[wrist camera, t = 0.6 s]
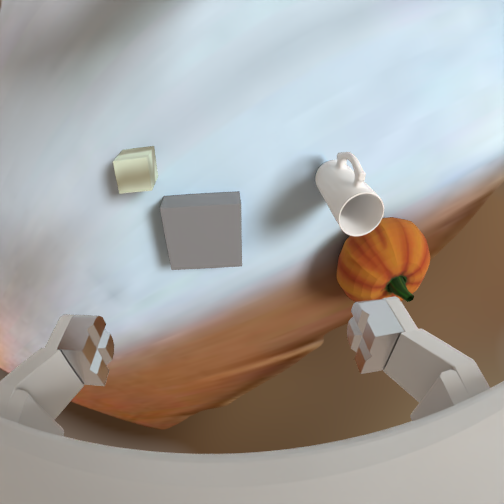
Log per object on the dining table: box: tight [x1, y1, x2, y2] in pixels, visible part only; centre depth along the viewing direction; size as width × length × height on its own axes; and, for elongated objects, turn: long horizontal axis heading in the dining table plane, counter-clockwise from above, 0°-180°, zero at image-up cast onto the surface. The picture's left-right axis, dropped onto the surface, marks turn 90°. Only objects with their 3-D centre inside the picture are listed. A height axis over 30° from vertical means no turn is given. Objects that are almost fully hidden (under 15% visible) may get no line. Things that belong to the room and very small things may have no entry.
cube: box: [113, 146, 158, 194], centre depth 39 cm, size 5×5×5 cm
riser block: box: [160, 192, 242, 270], centre depth 48 cm, size 12×12×4 cm
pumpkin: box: [336, 217, 430, 302], centre depth 51 cm, size 19×19×15 cm
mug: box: [315, 152, 384, 236], centre depth 40 cm, size 10×7×12 cm, turn 5°
